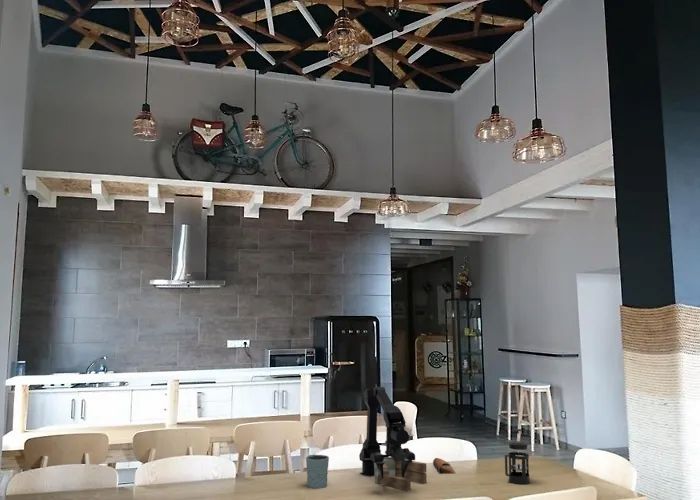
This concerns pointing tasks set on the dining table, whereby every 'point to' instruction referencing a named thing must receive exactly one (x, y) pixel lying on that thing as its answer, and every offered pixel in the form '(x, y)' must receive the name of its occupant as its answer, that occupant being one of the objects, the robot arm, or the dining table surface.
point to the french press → (514, 476)
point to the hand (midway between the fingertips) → (392, 477)
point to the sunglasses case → (443, 466)
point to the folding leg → (385, 473)
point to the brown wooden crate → (413, 473)
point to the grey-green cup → (317, 470)
